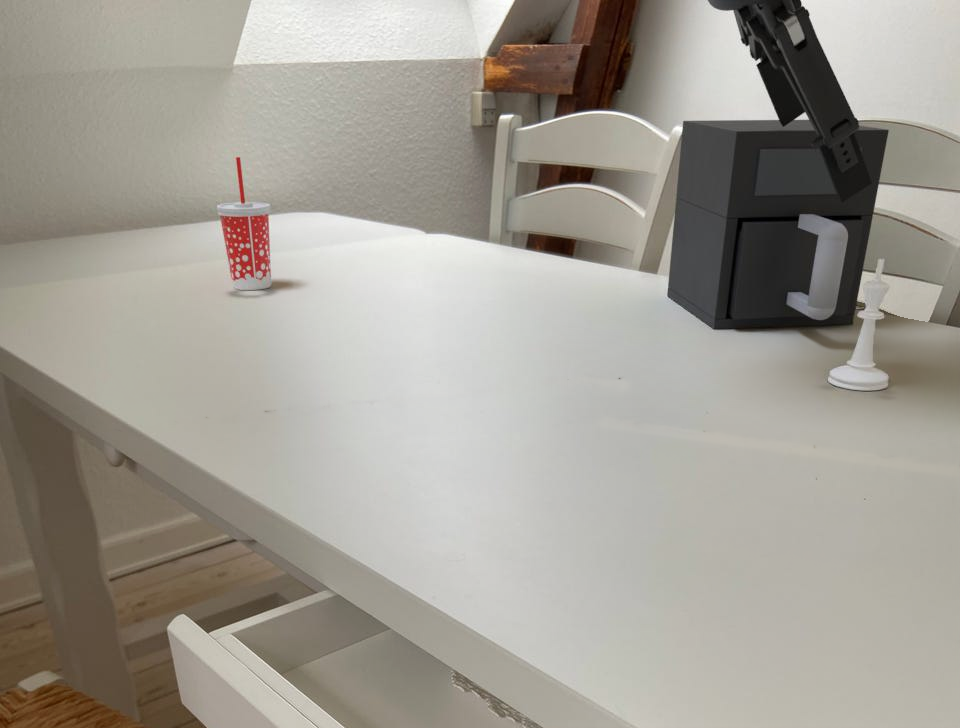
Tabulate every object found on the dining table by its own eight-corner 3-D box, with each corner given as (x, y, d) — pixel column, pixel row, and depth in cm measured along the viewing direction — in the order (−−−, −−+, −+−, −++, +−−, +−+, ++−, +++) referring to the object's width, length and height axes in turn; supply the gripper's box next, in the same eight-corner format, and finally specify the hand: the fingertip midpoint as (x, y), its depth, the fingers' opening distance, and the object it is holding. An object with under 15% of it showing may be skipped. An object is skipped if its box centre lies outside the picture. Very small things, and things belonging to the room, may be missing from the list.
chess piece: (890, 378, 87) (916, 256, 81) (885, 393, 83) (912, 266, 78) (831, 371, 88) (853, 252, 83) (823, 386, 84) (845, 261, 79)
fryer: (854, 325, 103) (890, 129, 94) (714, 330, 101) (737, 131, 92) (790, 292, 117) (817, 119, 108) (666, 296, 115) (683, 120, 106)
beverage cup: (273, 279, 124) (260, 154, 117) (282, 289, 119) (269, 158, 112) (222, 283, 122) (206, 155, 115) (230, 292, 117) (214, 160, 110)
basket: (882, 333, 95) (904, 223, 90) (762, 338, 94) (777, 226, 89) (785, 284, 115) (799, 192, 110) (684, 287, 114) (694, 194, 109)
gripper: (646, -91, 83) (739, 114, 98) (747, 30, 68) (839, 252, 83) (728, -157, 81) (810, 64, 96) (852, -47, 65) (927, 197, 80)
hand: (824, 153), depth 89 cm, fingers open, 13 cm apart
